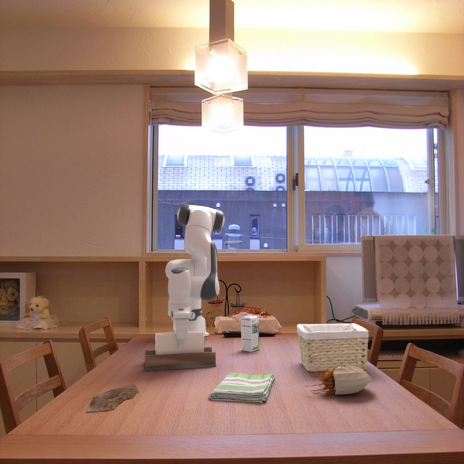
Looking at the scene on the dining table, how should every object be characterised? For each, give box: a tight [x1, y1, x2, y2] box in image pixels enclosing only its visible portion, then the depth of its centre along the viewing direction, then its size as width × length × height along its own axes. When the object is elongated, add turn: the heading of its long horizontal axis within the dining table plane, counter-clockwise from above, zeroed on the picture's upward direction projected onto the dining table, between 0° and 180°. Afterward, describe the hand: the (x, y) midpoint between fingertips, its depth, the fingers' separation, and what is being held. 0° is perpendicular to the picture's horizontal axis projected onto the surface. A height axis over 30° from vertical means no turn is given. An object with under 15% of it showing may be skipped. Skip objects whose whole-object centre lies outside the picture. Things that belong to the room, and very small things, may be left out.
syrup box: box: [240, 315, 260, 353], centre depth 187 cm, size 6×6×14 cm
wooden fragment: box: [86, 383, 140, 414], centre depth 128 cm, size 26×11×1 cm, turn 163°
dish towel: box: [208, 372, 276, 404], centre depth 135 cm, size 17×23×4 cm
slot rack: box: [144, 346, 217, 372], centre depth 164 cm, size 12×26×5 cm, turn 102°
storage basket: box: [296, 322, 370, 373], centre depth 160 cm, size 24×16×15 cm
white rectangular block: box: [154, 330, 205, 355], centre depth 164 cm, size 5×18×10 cm, turn 104°
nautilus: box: [304, 365, 372, 397], centre depth 132 cm, size 8×22×15 cm
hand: (179, 347), depth 164 cm, fingers closed on white rectangular block, 5 cm apart
